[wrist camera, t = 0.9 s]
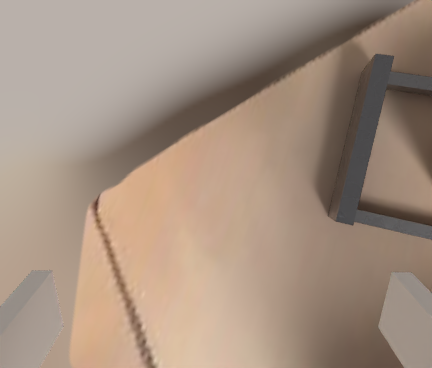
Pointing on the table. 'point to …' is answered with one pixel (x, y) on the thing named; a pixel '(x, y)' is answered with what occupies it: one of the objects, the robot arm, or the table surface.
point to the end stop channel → (363, 141)
